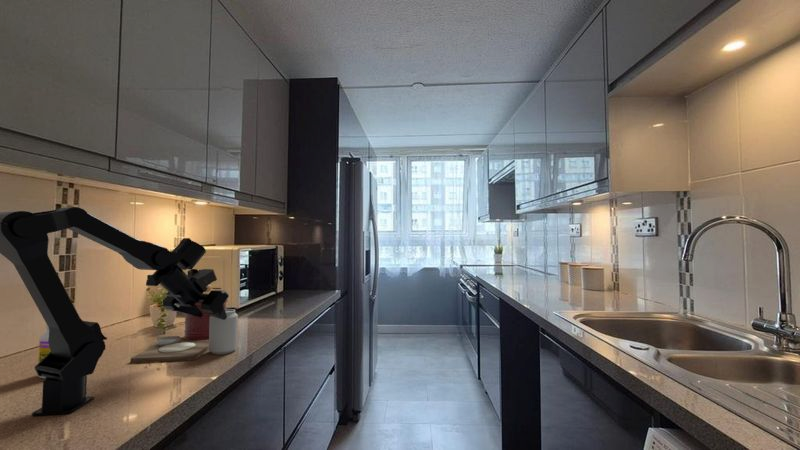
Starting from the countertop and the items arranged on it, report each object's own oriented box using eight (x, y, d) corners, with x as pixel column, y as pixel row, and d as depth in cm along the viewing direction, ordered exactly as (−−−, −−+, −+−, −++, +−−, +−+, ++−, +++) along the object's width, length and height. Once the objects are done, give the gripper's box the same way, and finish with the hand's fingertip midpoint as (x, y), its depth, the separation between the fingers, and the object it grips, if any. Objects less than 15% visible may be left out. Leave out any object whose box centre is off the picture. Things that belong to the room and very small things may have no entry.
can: (225, 356, 99) (226, 313, 100) (202, 354, 100) (203, 312, 101) (242, 348, 106) (243, 308, 107) (221, 346, 108) (221, 307, 108)
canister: (200, 343, 112) (201, 287, 113) (175, 338, 117) (176, 285, 118) (235, 333, 123) (236, 283, 124) (210, 329, 129) (212, 281, 130)
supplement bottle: (29, 380, 82) (32, 324, 82) (49, 370, 88) (52, 319, 89) (64, 377, 83) (67, 323, 84) (81, 368, 90) (83, 317, 90)
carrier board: (194, 359, 96) (194, 349, 96) (130, 362, 93) (130, 352, 94) (217, 342, 112) (217, 334, 112) (163, 345, 110) (163, 336, 110)
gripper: (223, 260, 93) (254, 295, 103) (174, 259, 99) (207, 292, 109) (196, 294, 85) (232, 329, 95) (144, 291, 92) (183, 324, 102)
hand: (213, 317), depth 100 cm, fingers open, 9 cm apart
